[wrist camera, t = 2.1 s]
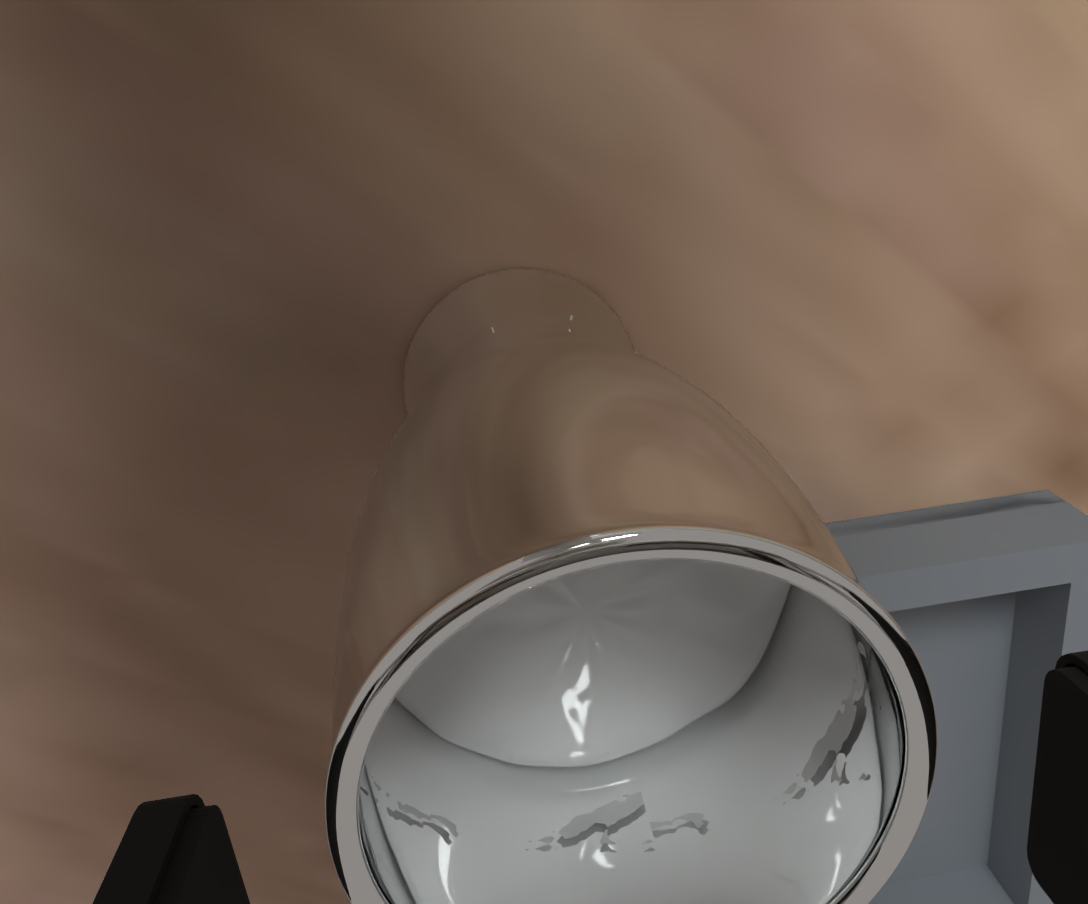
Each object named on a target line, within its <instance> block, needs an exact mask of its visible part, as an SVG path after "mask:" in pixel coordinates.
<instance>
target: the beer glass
mask: <svg viewBox="0 0 1088 904" xmlns="http://www.w3.org/2000/svg"><path fill="white" fill-rule="evenodd" d="M403 392H404V402H405V408H406V412H407V416H408V417H407V418H406V420H405V421H404V423H403V424H402V425H401V427H400V428H399V430H398V431H397V433H396V435H395V436H394V438H393V440H392V442H391V443H390V445H389V447H388V449H387V451H386V453H385V455H384V457H383V459H382V461H381V463H380V465H379V467H378V469H377V471H376V473H375V475H374V477H373V479H372V481H371V483H370V485H369V488H368V490H367V493H366V495H365V498H364V501H363V504H362V508H361V511H360V515H359V518H358V522H357V526H356V530H355V533H354V537H353V541H352V544H351V548H350V552H349V556H348V560H347V565H346V571H345V578H344V585H343V592H342V600H341V607H340V614H339V622H338V630H337V644H336V661H335V677H334V698H333V737H332V754H331V757H330V761H329V766H328V771H327V778H326V786H325V825H326V834H327V840H328V845H329V850H330V854H331V858H332V861H333V865H334V868H335V871H336V874H337V876H338V879H339V881H340V883H341V886H342V888H343V890H344V892H345V894H346V896H347V898H348V899H349V901H350V903H351V904H869V903H870V902H871V901H872V899H873V898H874V897H875V896H876V895H877V894H878V892H879V891H880V890H881V889H882V888H883V886H884V885H885V884H886V882H887V881H888V880H889V878H890V877H891V876H892V874H893V873H894V871H895V870H896V868H897V867H898V865H899V864H900V862H901V861H902V859H903V857H904V856H905V854H906V852H907V850H908V849H909V847H910V845H911V843H912V841H913V839H914V837H915V835H916V833H917V831H918V828H919V826H920V824H921V821H922V819H923V816H924V813H925V811H926V807H927V804H928V801H929V797H930V793H931V790H932V785H933V780H934V775H935V768H936V759H937V741H938V740H937V723H936V714H935V707H934V702H933V698H932V693H931V690H930V686H929V683H928V680H927V677H926V675H925V672H924V670H923V667H922V665H921V663H920V660H919V658H918V656H917V654H916V652H915V650H914V648H913V646H912V645H911V643H910V642H909V640H908V638H907V637H906V635H905V634H904V632H903V631H902V629H901V628H900V626H899V625H898V624H897V623H896V621H895V620H894V619H893V618H892V616H891V615H890V614H889V613H888V612H887V611H886V610H885V608H884V607H883V606H882V605H881V604H880V603H879V602H878V601H877V600H876V599H875V598H874V596H873V595H872V594H871V592H870V591H869V589H868V588H867V586H866V585H865V583H864V582H863V580H862V579H861V577H860V575H859V574H858V572H857V571H856V569H855V568H854V566H853V565H852V563H851V562H850V560H849V559H848V557H847V555H846V554H845V552H844V551H843V549H842V548H841V546H840V545H839V544H838V542H837V541H836V539H835V538H834V536H833V535H832V533H831V532H830V531H829V529H828V528H827V526H826V525H825V524H824V522H823V521H822V519H821V518H820V516H819V515H818V514H817V512H816V511H815V509H814V508H813V506H812V505H811V504H810V502H809V501H808V499H807V498H806V497H805V495H804V494H803V493H802V491H801V490H800V489H799V488H798V487H797V485H796V484H795V483H794V482H793V480H792V479H791V478H790V477H789V476H788V474H787V473H786V472H785V471H784V469H783V468H782V467H781V466H780V465H779V463H778V462H777V461H776V460H775V459H774V457H773V456H772V455H771V454H770V452H769V451H768V450H767V449H766V448H765V447H764V446H763V444H762V443H761V442H760V441H759V440H758V439H757V438H756V437H754V436H753V435H752V434H751V433H750V432H749V431H748V430H747V429H746V428H745V427H744V426H743V425H742V424H741V423H740V422H739V421H738V420H737V419H735V418H734V417H733V416H732V415H731V414H730V413H729V412H728V411H727V410H726V409H725V408H724V407H723V406H722V405H721V404H719V403H718V402H717V401H716V400H715V399H713V398H712V397H711V396H710V395H708V394H707V393H706V392H704V391H703V390H702V389H700V388H698V387H697V386H695V385H694V384H692V383H690V382H689V381H687V380H685V379H684V378H682V377H681V376H679V375H677V374H676V373H674V372H672V371H671V370H669V369H668V368H666V367H664V366H662V365H661V364H659V363H657V362H655V361H653V360H651V359H649V358H647V357H644V356H642V355H640V354H638V353H635V350H634V347H633V344H632V341H631V339H630V336H629V334H628V332H627V330H626V328H625V327H624V325H623V323H622V322H621V320H620V318H619V317H618V316H617V314H616V313H615V312H614V310H613V309H612V308H611V307H610V306H609V305H608V303H607V302H606V301H605V300H604V299H602V298H601V297H600V296H599V295H598V294H597V293H595V292H594V291H593V290H591V289H590V288H588V287H587V286H585V285H584V284H582V283H580V282H578V281H576V280H574V279H572V278H570V277H567V276H565V275H562V274H559V273H555V272H551V271H546V270H540V269H527V268H519V269H507V270H501V271H496V272H492V273H488V274H485V275H482V276H479V277H477V278H474V279H472V280H470V281H468V282H466V283H464V284H462V285H461V286H459V287H458V288H456V289H455V290H453V291H452V292H451V293H449V294H448V295H447V296H446V297H444V298H443V299H442V300H441V301H440V302H439V303H438V304H437V305H436V306H435V307H434V308H433V309H432V310H431V312H430V313H429V314H428V315H427V316H426V318H425V319H424V320H423V322H422V323H421V325H420V326H419V328H418V330H417V331H416V333H415V335H414V337H413V340H412V342H411V344H410V347H409V350H408V353H407V357H406V362H405V367H404V376H403Z"/></svg>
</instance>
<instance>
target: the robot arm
mask: <svg viewBox="0 0 1088 904" xmlns="http://www.w3.org/2000/svg"><path fill="white" fill-rule="evenodd" d="M1027 857H1028V862H1029V865H1030V868H1031V871H1032V873H1033V875H1034V877H1035V879H1036V881H1037V882H1038V884H1039V885H1040V887H1041V888H1042V889H1043V891H1044V892H1045V893H1046V894H1047V896H1048V897H1049V898H1050V900H1051V901H1052V902H1053V904H1088V650H1087V651H1081V652H1075V653H1068V654H1065V655H1062V656H1061V657H1060V658H1059V659H1058V661H1057V662H1056V666H1055V669H1053V670H1050V671H1048V673H1047V674H1046V676H1045V680H1044V687H1043V696H1042V706H1041V716H1040V725H1039V735H1038V744H1037V754H1036V764H1035V773H1034V783H1033V793H1032V802H1031V812H1030V822H1029V831H1028V841H1027ZM93 904H250V902H249V899H248V895H247V892H246V889H245V886H244V883H243V879H242V876H241V873H240V870H239V866H238V863H237V860H236V857H235V854H234V850H233V847H232V844H231V841H230V837H229V834H228V831H227V828H226V825H225V821H224V818H223V815H222V812H221V810H220V808H219V807H218V806H216V805H212V806H205V805H204V803H203V800H202V799H201V798H200V797H199V796H198V795H195V794H192V795H186V796H180V797H173V798H167V799H161V800H155V801H148V802H143V803H142V804H140V805H139V806H138V808H137V809H136V811H135V812H134V814H133V816H132V819H131V821H130V823H129V825H128V827H127V830H126V832H125V834H124V836H123V838H122V841H121V843H120V845H119V847H118V849H117V851H116V854H115V856H114V858H113V860H112V862H111V865H110V867H109V869H108V871H107V873H106V876H105V878H104V880H103V882H102V884H101V887H100V889H99V891H98V893H97V895H96V897H95V900H94V902H93Z"/></svg>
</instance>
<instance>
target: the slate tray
mask: <svg viewBox="0 0 1088 904" xmlns="http://www.w3.org/2000/svg"><path fill="white" fill-rule="evenodd" d="M825 525H826V526H827V528H828V529H829V531H830V532H831V533H832V535H833V536H834V538H835V539H836V541H837V542H838V544H839V545H840V546H841V548H842V549H843V551H844V552H845V554H846V555H847V557H848V559H849V560H850V562H851V563H852V565H853V566H854V568H855V569H856V571H857V572H858V574H859V575H860V577H861V579H862V580H863V582H864V583H865V585H866V586H867V588H868V589H869V591H870V592H871V594H872V595H873V596H874V598H875V599H876V600H877V601H878V602H879V603H880V604H881V605H882V606H883V607H884V608H885V610H886V611H887V612H888V613H889V614H890V615H891V616H892V618H893V619H894V620H895V621H896V623H897V624H898V625H899V626H900V628H901V629H902V631H903V632H904V634H905V635H906V637H907V638H908V640H909V642H910V643H911V645H912V646H913V648H914V650H915V652H916V654H917V656H918V658H919V660H920V663H921V665H922V667H923V670H924V672H925V675H926V677H927V680H928V683H929V686H930V690H931V693H932V698H933V702H934V707H935V714H936V723H937V740H938V741H937V759H936V768H935V775H934V780H933V785H932V790H931V793H930V797H929V801H928V804H927V807H926V811H925V813H924V816H923V819H922V821H921V824H920V826H919V828H918V831H917V833H916V835H915V837H914V839H913V841H912V843H911V845H910V847H909V849H908V850H907V852H906V854H905V856H904V857H903V859H902V861H901V862H900V864H899V865H898V867H897V868H896V870H895V871H894V873H893V874H892V876H891V877H890V878H889V880H888V881H887V882H886V884H885V885H884V886H883V888H882V889H881V890H880V891H879V892H878V894H877V895H876V896H875V897H874V898H873V899H872V901H871V902H870V903H869V904H1053V902H1052V901H1051V900H1050V898H1049V897H1048V896H1047V894H1046V893H1045V892H1044V891H1043V889H1042V888H1041V887H1040V885H1039V884H1038V882H1037V881H1036V879H1035V877H1034V875H1033V873H1032V871H1031V868H1030V865H1029V862H1028V857H1027V841H1028V831H1029V822H1030V812H1031V802H1032V793H1033V783H1034V773H1035V764H1036V754H1037V744H1038V735H1039V725H1040V716H1041V706H1042V696H1043V687H1044V680H1045V676H1046V674H1047V673H1048V671H1050V670H1053V669H1055V666H1056V662H1057V661H1058V659H1059V658H1060V657H1061V656H1062V655H1065V654H1068V653H1075V652H1081V651H1087V650H1088V516H1087V515H1086V514H1084V513H1083V512H1081V511H1080V510H1078V509H1076V508H1075V507H1073V506H1072V505H1070V504H1069V503H1067V502H1066V501H1064V500H1063V499H1061V498H1059V497H1058V496H1056V495H1055V494H1053V493H1052V492H1050V491H1049V490H1045V491H1038V492H1032V493H1025V494H1019V495H1012V496H1005V497H999V498H992V499H986V500H979V501H973V502H966V503H960V504H953V505H947V506H940V507H934V508H927V509H921V510H914V511H907V512H901V513H894V514H888V515H881V516H875V517H868V518H862V519H855V520H849V521H842V522H836V523H829V524H825Z"/></svg>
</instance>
